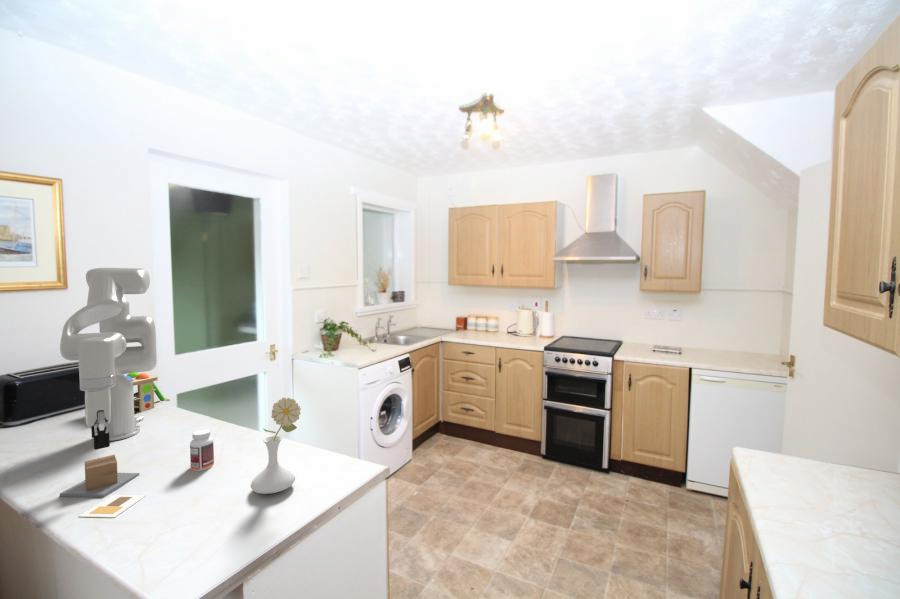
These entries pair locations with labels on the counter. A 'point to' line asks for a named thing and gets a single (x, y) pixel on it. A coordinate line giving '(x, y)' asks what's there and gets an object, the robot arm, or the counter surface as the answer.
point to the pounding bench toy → (145, 391)
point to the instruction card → (112, 506)
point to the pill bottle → (201, 451)
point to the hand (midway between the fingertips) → (100, 442)
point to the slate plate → (81, 490)
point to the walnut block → (101, 472)
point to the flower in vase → (274, 474)
